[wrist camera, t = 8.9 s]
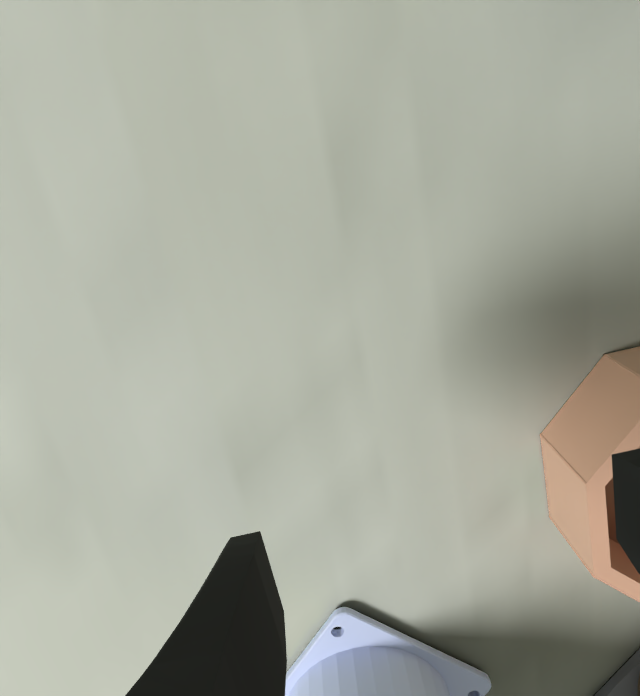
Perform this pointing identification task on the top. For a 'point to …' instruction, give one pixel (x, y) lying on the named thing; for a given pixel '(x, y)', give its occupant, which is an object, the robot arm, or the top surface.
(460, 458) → the top surface
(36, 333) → the top surface
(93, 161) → the top surface
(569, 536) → the bowl
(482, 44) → the top surface
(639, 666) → the mat
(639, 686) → the lid
